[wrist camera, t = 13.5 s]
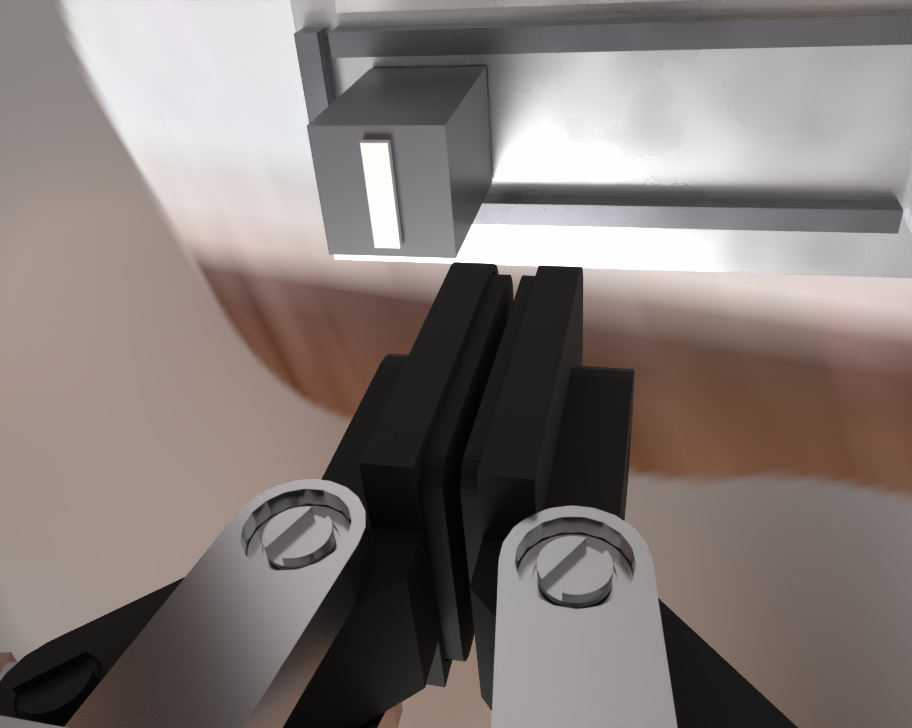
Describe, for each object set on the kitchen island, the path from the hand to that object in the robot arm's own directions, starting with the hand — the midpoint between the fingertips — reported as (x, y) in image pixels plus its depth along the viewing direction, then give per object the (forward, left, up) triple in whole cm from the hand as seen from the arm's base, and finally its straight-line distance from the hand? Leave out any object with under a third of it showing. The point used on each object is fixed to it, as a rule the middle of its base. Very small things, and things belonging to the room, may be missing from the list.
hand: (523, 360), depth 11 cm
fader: (+1, -4, -12) cm, 12 cm away
